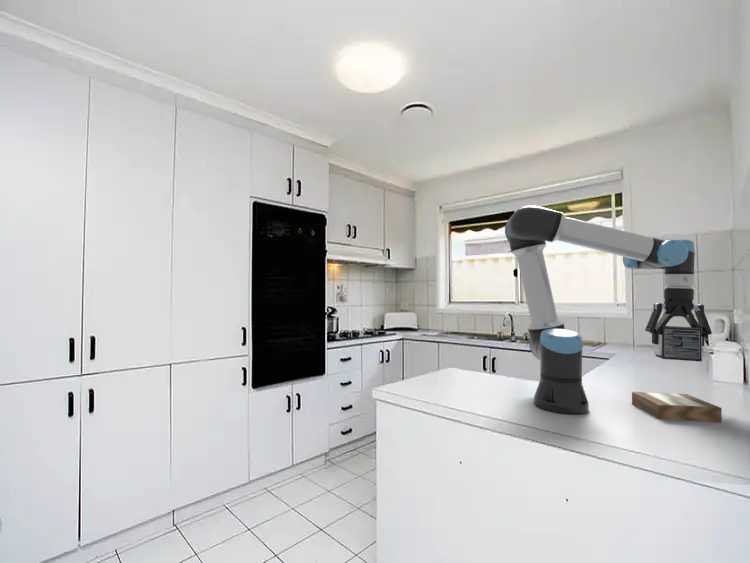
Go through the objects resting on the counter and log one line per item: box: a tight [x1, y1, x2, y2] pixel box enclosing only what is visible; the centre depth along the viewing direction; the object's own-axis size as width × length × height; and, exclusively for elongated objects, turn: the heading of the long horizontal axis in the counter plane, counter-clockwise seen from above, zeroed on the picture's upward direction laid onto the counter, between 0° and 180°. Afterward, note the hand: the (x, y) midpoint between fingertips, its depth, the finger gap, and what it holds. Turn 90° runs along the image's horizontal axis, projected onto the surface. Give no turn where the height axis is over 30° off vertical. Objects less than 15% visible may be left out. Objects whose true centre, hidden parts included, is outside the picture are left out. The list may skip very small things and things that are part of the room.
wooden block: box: [631, 391, 723, 423], centre depth 113 cm, size 16×14×4 cm
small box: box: [654, 325, 703, 363], centre depth 123 cm, size 11×6×10 cm, turn 72°
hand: (677, 355), depth 122 cm, fingers closed on small box, 11 cm apart
